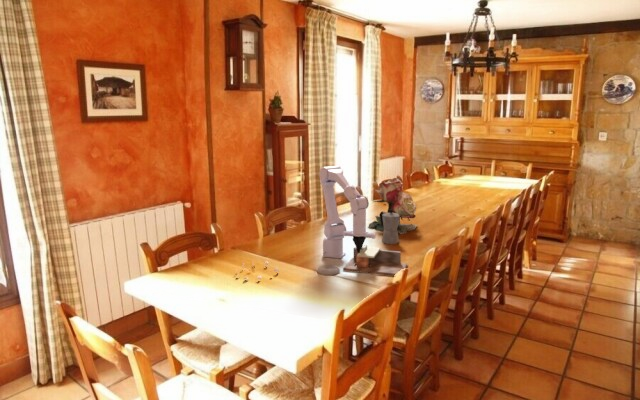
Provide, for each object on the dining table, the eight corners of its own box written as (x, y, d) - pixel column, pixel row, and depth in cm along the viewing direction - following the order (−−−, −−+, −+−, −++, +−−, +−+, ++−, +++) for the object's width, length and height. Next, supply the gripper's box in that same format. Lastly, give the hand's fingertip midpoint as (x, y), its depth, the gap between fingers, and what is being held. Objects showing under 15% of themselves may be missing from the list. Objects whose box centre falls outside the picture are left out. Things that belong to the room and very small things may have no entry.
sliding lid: (358, 256, 203) (358, 251, 203) (365, 248, 215) (365, 243, 215) (373, 258, 201) (373, 253, 200) (380, 249, 213) (380, 245, 212)
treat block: (356, 268, 208) (356, 255, 207) (359, 265, 212) (359, 252, 211) (366, 269, 206) (366, 256, 205) (368, 266, 211) (368, 253, 209)
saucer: (314, 273, 202) (314, 271, 201) (321, 266, 211) (321, 264, 211) (335, 276, 198) (335, 274, 198) (342, 268, 207) (342, 266, 207)
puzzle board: (343, 270, 205) (343, 256, 204) (352, 260, 219) (352, 246, 218) (401, 277, 196) (401, 262, 195) (407, 265, 210) (407, 252, 209)
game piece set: (257, 264, 216) (257, 256, 215) (288, 273, 204) (288, 265, 203) (224, 276, 201) (224, 267, 201) (256, 286, 189) (255, 277, 188)
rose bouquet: (408, 236, 258) (409, 183, 252) (364, 228, 276) (364, 179, 270) (427, 226, 278) (429, 177, 272) (385, 220, 296) (385, 174, 290)
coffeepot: (405, 243, 245) (406, 210, 241) (392, 246, 240) (392, 212, 236) (386, 236, 257) (386, 205, 254) (373, 239, 252) (373, 207, 249)
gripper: (341, 224, 205) (341, 253, 208) (372, 226, 200) (372, 256, 203) (345, 220, 212) (346, 248, 214) (376, 222, 207) (376, 251, 209)
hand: (359, 252), depth 209 cm, fingers closed
